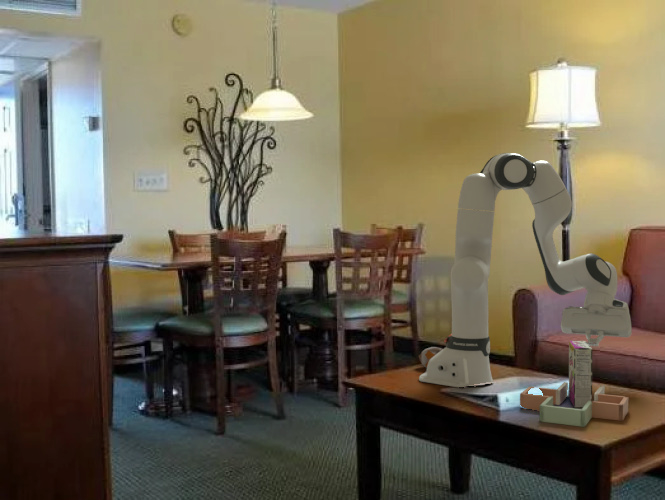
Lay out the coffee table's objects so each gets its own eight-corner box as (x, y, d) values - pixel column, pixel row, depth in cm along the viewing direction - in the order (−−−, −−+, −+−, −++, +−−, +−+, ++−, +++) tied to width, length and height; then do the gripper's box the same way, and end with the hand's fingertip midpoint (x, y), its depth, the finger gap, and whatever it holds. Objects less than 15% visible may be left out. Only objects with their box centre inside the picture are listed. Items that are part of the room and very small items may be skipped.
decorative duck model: (419, 344, 273) (463, 344, 270) (419, 367, 273) (463, 367, 269) (414, 348, 258) (460, 348, 255) (414, 371, 258) (461, 371, 255)
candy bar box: (567, 398, 223) (568, 340, 222) (585, 398, 223) (586, 340, 222) (573, 408, 212) (574, 347, 211) (592, 408, 212) (593, 347, 211)
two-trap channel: (509, 417, 203) (510, 402, 202) (537, 393, 229) (537, 379, 229) (616, 430, 191) (617, 414, 190) (633, 403, 217) (633, 389, 217)
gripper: (562, 300, 245) (555, 336, 237) (632, 303, 235) (628, 341, 227) (565, 312, 249) (558, 348, 241) (634, 316, 239) (629, 353, 231)
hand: (592, 345), depth 234 cm, fingers closed
